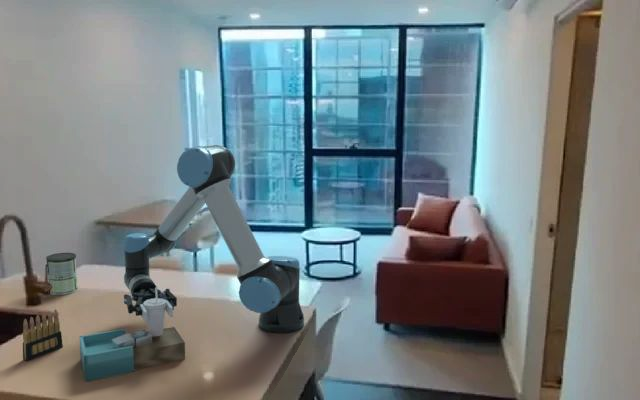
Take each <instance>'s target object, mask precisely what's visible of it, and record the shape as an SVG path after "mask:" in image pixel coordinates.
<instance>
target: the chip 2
mask: <svg viewBox="0 0 640 400" xmlns="http://www.w3.org/2000/svg"><path fill="white" fill-rule="evenodd" d="M128 334H129V335H130V336H132V337H133V338H134V341H135V347H136V348H137V347H140V346H143V345H147V344H150V343H152V334H150V333H149V330H146V329H143V330H138V331H135V332H131V333H128Z"/></svg>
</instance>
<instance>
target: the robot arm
mask: <svg viewBox="0 0 640 400" xmlns="http://www.w3.org/2000/svg"><path fill="white" fill-rule="evenodd" d="M235 168H236V160H235V156H234V155H233V153H232V152H231V150H229V149H228V148H227V147H225V146H222V145H219V144H214V145H205V146H201V145H197V146H194V147H190V148H188V149H186V150H185V151H183V152H182V153H181V155H180V156H179V158H178V162H177V164H176V172H177V175H178V176H177V177H178V178H179V180H180V182H182V183H183V184H184V185H185V186H188V189H187V190H186V191H185V192H184V194H183V195H182V196H181V197H180V199H179V200H178V201H177V203H176V204H175V205H174V206H173V208H171V211H169V213H168V214H167V216H166V217H165V218H164V219H163V221H161V223H160V224H159V226H158V228H157V229H156V230H155V231H154V232H153V233H152V234H151V235H148V234H146V233H143V232H136V233H130V234H127V235H126V236H125V237H124V246H123V249H124V266H125V268H124V269H125V270H124V271H125V272H124V276H123V281H124V284H125V286H126V288H127V289H128V290H129V293H130V294H124V295H123V303H124V305H126V307H127V312H128V314H133V313H134V312H135V317H137V316H141V318H142V319H143V322H147V311H146V309H145V307H144V305H143V303H144V302H145V301H146V300H149V299H153V298H156V296H155V287H157V285H156V284H155V282H154V281H153V279H152V278H151V277H150V260H151V259H152V258H155V257H157V256H160V255H163V254H165V253H168V252H170V251H172V250H173V249H175V247H176V245H177V241H178V240H177V239H178V238H179V237H181V235H182V233H184V232H185V231H184V230H186V228H187V227H188V225H190V223H191V222H192V221H193V219H194V218H195V217H196V216H197V214H198V213H199V212H200V211H201V210H202V208H203V207H204V206H205V204H206V206H207V209H208V211H209V213H210V215H211V217H212V218H213V221H214V222H215V224H216V226H217V229H218V231H219V233H220V235H221V237H222V239H223V240H224V242H225V245H226V246H227V248H228V250H229V253H230V254H231V256H232V258H233V260H234V262H235V264H236V266H237V268H238V271H237V273H236V278H237V280H238V282H239V284H240V286H239V291H238V297H239V300H240V302H241V303H242V304H243V306H244V307H245V308H246V309H247V310H249V311H251V312H254V313H258V314H259V317H258V327H259V328H260V329H262V330H264V331H267V332H270V333H277V334H284V333H293V332H296V331H298V330H300V329H302V328H303V327H304V325H305V317H304V313H303V311H302V307H301V304H300V273H301V272H300V271H301V268H300V260H299V259H298V258H296V257H292V256H287V255H271V256H265V255H264V253H263V252H262V250H261V248H260V245H259V243H258V242H257V239H256V238H255V235H254V234H253V231H252V230H251V228H250V226H249V224H248V221H247V219H246V218H245V216H244V214H243V212H242V209H241V207H240V205H239V203H238V201H237V199H236V198H235V196H234V194H233V192H232V190H231V187H230V185H231V181H232V178H231V177H232V176H233V174H234V173H235V170H236V169H235ZM157 295H158V298H162V299H165V300H166V306H165V312H166V313H167V314H168V317H170V318H173V317H174V309H175V307H177V305H178V303H177V302H178V297H176V295H175V294H173V293H172V292H171V291H170V288H166V289H165V290H163V291H161V290H160V289H158V288H157ZM133 301H134V302H136V303H134V304H133Z"/></svg>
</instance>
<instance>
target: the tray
mask: <svg viewBox="0 0 640 400" xmlns="http://www.w3.org/2000/svg"><path fill="white" fill-rule="evenodd" d="M124 334H127V333H126V328H120V329H115V330H109V331H108V330H107V331H103V332H97V333H90V334H85V335H79V337H78V338H79V355H80V363H81V368H82V371H83V372H82V373H83V377H84V382H85V383H87V382H91V381H95V380H101V379H103V378H104V379H105V378H109V377H110V378H111V377H114V376H117V375H118V376H119V375H122V374H126V373H131V372H132V373H133V372H135V370H134V356H133V346H128V347H123V348H118V349H114V348H113V345H112V339H114V338H117V337H119V336H122V335H124Z"/></svg>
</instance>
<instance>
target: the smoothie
mask: <svg viewBox="0 0 640 400" xmlns="http://www.w3.org/2000/svg"><path fill="white" fill-rule="evenodd" d="M157 289H158V287H157V286H156V287H155V296H156V298H153V299H149V300H146V301H145V302H144V303H143V305H144V307H145V309H146V311H147V321H146V323H147V329H148V332H149V333H150V334H152V336H154V337H155V336H160V335H162V334H163V329H164V326H165V325H164V323H165V314H166V313H165V312H166V310H165V306H166V300H165V299H162V298H158V295H157Z"/></svg>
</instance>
